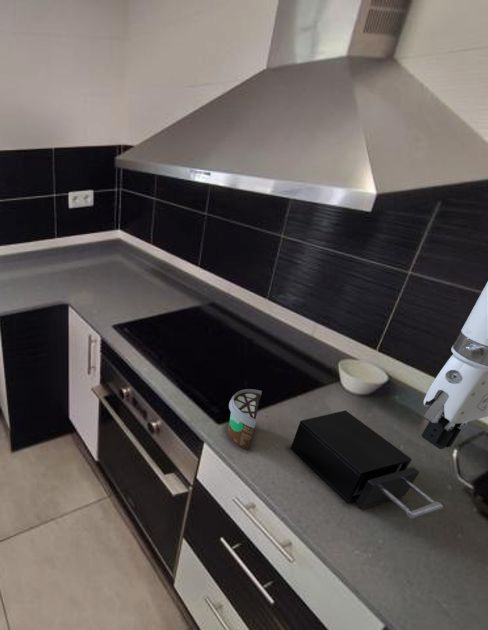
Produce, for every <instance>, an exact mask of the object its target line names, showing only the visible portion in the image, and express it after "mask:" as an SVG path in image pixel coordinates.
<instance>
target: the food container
mask: <svg viewBox="0 0 488 630" xmlns="http://www.w3.org/2000/svg"><path fill="white" fill-rule="evenodd" d="M262 393H263V391H262V390H259V389H252V388H251V389H250V388H246V389H241V390H239V391H237V392H235V394H234V395H232V397H231V398H230V400H229V403H228V409H229V412H230V417H229V422H228V429H227V435H228V436H229V439H230V440H231V441H232V442H233V443H234V444H235V445H236V446H237V447H239V448H241V449H243V450H246V451H248V450H249V446H250V443H251V440H252V437H253V433H254V430H255V427H256V423H257V415H258V410H259V409H258V408H259V403H260V399H261V397H262Z"/></svg>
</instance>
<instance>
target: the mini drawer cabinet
mask: <svg viewBox="0 0 488 630" xmlns="http://www.w3.org/2000/svg"><path fill="white" fill-rule="evenodd" d="M290 450H291V452H293V453H294V454H295V455H296V457H298V458H299V459H300V460H301V461H302V462H303V463H304V464H305V465H306V466H307V467H309V469H311V470H312V472H313V473H315V474H316V475H317V476H318V477H319V478H320V479H321V480H322V481H323V482H324V483H325V484H326V485H327V486H328V487H329V488H330V489H331V490H332V491H333V492H334V493H335V494H336V495H337V496H338V497H339V498H340V499H341V500H343V501H344V502H345V504H348V503H352V502H357V500H358V498H359V496H360V494H359V495H355V496H353V494H354V492H355V490H356V489H357V487H358V485H359V483H360V481H361V479H362V477H363V475H365V474H369V473H372V472H376V471H380V470H383V469H387V468H390V467H394V466H397V465H401V464H402V466H401V468H400V470H399V471H402V470H405V469H408V466H409V465H410V463H411V462H412V458H411V457H410V456H409V455H407V454H405V453H404V452H403V451H402V450H401V449H399V448H398V447H396V445H393V444H392V443H391V442H390V441H388V440H387V439H385V438H384V437H383V436H381V435H380V434H379V433H378V432H376V431H375V430H373V429H372V428H370V427H369V426H368V425H366V424H365V422H362V421H361V420H360V419H359V418H357V417H356V416H354V415H352V413H350V412H349V411H347V410H340V411H336V412H333V413H327V414H323V415H319V416H315V417H311V418H310V417H309V418H306V419H301V420H300V421H299V424H298V427H297V429H296V432H295V435H294V438H293V441H292V443H291V447H290Z"/></svg>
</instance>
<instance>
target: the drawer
mask: <svg viewBox="0 0 488 630" xmlns="http://www.w3.org/2000/svg"><path fill="white" fill-rule="evenodd" d="M401 466H402V464H401V465H397V466H394V467H390V468H387V469H383V470H380V471H376V472H372V473H369V474H365V475H363V477H362V479H361V481H360V483H359V485H358V487H357V489H356V490H355V492H354V494H353V496H355V495H359V494H360V496H359V498H358V500H356V501H355V505H356V506H357V508H359V509H360V510H363V509H366V508H370V507H372V506H376V505H379V504H383V503H385V502H386V503H387V502H389V501H392V502H393V503H395V505H396V506H398V507H399V508H400V509H401V510H403V511H404V512H405V513H406V516H407V517H408V518H409V519H412V520H413V519H416V518H419V517H421V516H425V515H428V514H431V513H434V512H438V511H440V510H443V508H444V506H443V504H442V503H441V502H439V501H435V500H434V499H432V498H431V497H430V496H428V495H427V494H426V493H425V492H424V491H422V490H421V489H420V488H418V487H417V486H416V485H414V482H415V480H416V479H417V477H418V475H419V473H420V471H419V470H418V469H416V468H415V467H413V466H412V467H409V468H406V469H405V470H402V471H399V470H400V468H401ZM410 489H412V490H413V492H415V493H416V494H417V495H419V496H420V497H421V498H423V499H424V500H425V501H427V502H428V503H429V504H426V505H423V506H419V507H416V508H413V509H410V508H409V507H407V506H406V504H404V503H403V502H402V501H400V500H399V499H400V498H402V497H405V496H406V495H407V494H408V492H409V490H410Z"/></svg>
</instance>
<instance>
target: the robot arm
mask: <svg viewBox="0 0 488 630" xmlns="http://www.w3.org/2000/svg"><path fill="white" fill-rule="evenodd" d="M450 351H451V353H452V355H450V357H449V358H448V359H447V361H446V362H445V364H444V365H443V367H442V368H441V370H440V371H439V373H438V374H437V375H436V376H435V379H434V380H433V382H432V384H431V385H430V387H429V389H428V391H427V393H426V394H425V396H424V399H423V406H424V407H425V408H428V410H427V411H426V412H425V414H423V416H422V417H423V418H424V419H425V420H426V421H428V422H427V425H426V427H425V428H424V430H423V431H422V433H421V437H422V438H423V439H424V440H426V441H427V442H428V443H430V444H431V445H433V446H434V447H436V448H437V449H438V450H443V449H445V448H451V447H452V446H453V444H454V442H455V441H456V439H457V437H458V436H459V435H460V433H461V432H462V429H463V428H464V427H466V425H467V424H468V422H472V421H476V420H480V419H484V418H487V417H488V281H487V282H486V284H485V286H484V287H483V289H482V291H481V293H480V294H479V297H478V298H477V300H476V302H475V304H474V306H473V308H472V310H471V311H470V313H469V316H468V317H467V318H466V321H465V322H464V324H463V327H462V328H461V330H460V331H459V334H458V335H457V337H456V339H455V341H454V343H453V345H452V346H451V349H450Z"/></svg>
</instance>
